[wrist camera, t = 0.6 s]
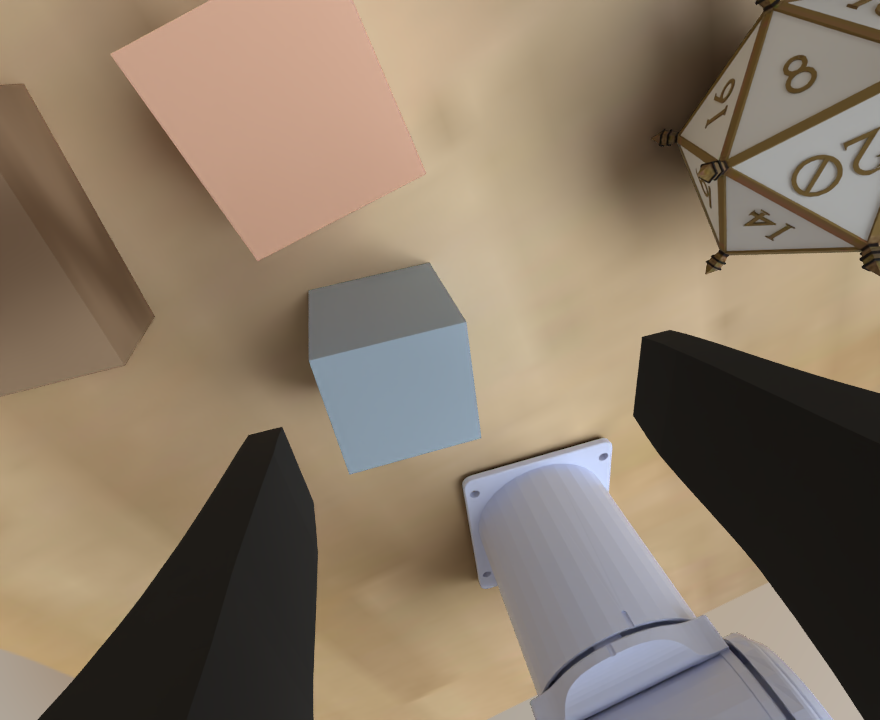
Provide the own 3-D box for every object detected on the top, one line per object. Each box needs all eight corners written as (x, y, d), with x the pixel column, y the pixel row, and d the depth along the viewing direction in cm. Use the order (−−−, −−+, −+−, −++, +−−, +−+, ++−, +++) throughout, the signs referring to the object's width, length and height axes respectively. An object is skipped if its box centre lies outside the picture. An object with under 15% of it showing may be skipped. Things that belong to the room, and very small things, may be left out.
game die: (654, 162, 22) (695, 365, 18) (619, -27, 15) (673, 233, 11) (917, 74, 17) (1049, 312, 13) (1034, -244, 11) (1374, 44, 7)
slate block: (445, 361, 20) (481, 437, 16) (340, 388, 20) (349, 474, 15) (428, 261, 18) (466, 321, 13) (308, 289, 17) (308, 360, 13)
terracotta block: (394, 144, 15) (426, 173, 11) (270, 208, 15) (257, 261, 11) (320, -21, 13) (326, -63, 9) (173, 57, 13) (109, 54, 9)
